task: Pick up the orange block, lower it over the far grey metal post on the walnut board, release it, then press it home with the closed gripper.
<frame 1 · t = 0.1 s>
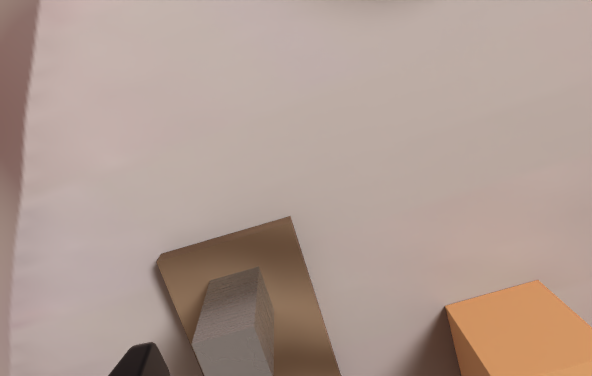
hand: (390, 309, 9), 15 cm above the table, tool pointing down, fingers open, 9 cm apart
board: (271, 362, 27), on the table
orange block: (499, 332, 27), on the table
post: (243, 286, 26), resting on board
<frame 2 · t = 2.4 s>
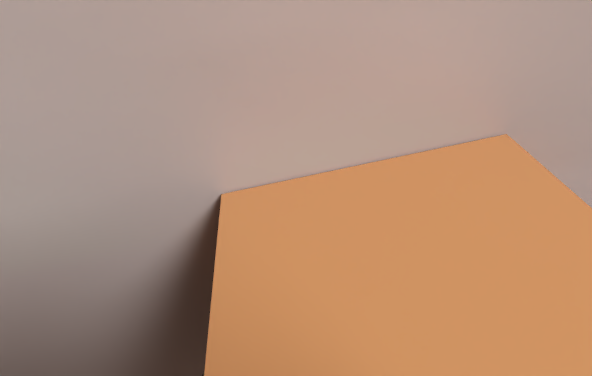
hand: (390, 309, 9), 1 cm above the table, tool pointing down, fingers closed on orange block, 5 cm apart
orange block: (378, 273, 10), on the table, touching gripper
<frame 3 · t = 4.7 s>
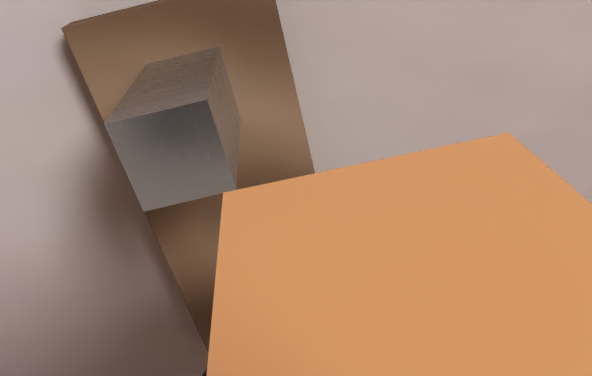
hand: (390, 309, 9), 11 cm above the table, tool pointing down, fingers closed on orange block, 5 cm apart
board: (234, 193, 20), on the table
orange block: (379, 272, 10), point 10 cm above the table, touching gripper
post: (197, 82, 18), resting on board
when the fingers open (3 cm above the table, at t = 7.0 s): orange block stays where it is, resting on board.
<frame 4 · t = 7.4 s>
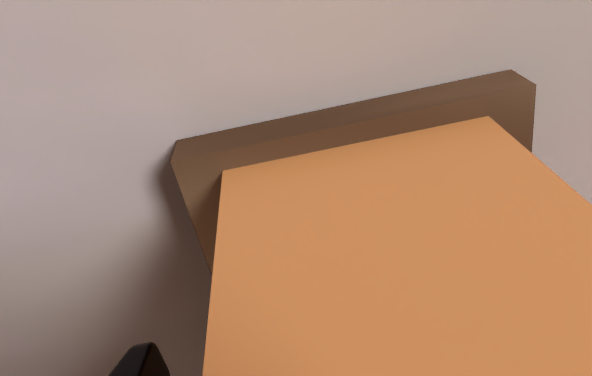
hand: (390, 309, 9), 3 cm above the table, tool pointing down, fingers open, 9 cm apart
board: (380, 362, 14), on the table
orange block: (369, 248, 11), point 1 cm above the table, touching board
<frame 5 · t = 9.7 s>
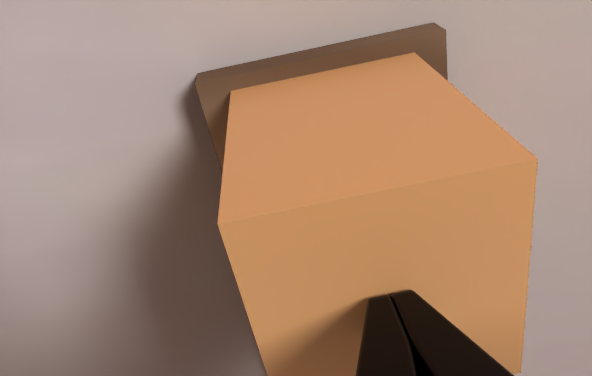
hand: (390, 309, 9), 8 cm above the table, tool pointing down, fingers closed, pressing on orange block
board: (350, 259, 18), on the table
orange block: (335, 154, 15), point 1 cm above the table, touching board, gripper
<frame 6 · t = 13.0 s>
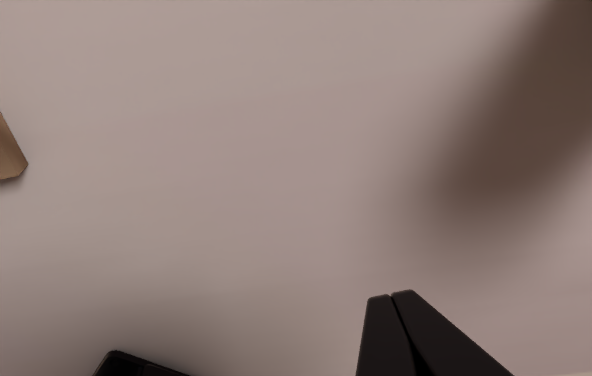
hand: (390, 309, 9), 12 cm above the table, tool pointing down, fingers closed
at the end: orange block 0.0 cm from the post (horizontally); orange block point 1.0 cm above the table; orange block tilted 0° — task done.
